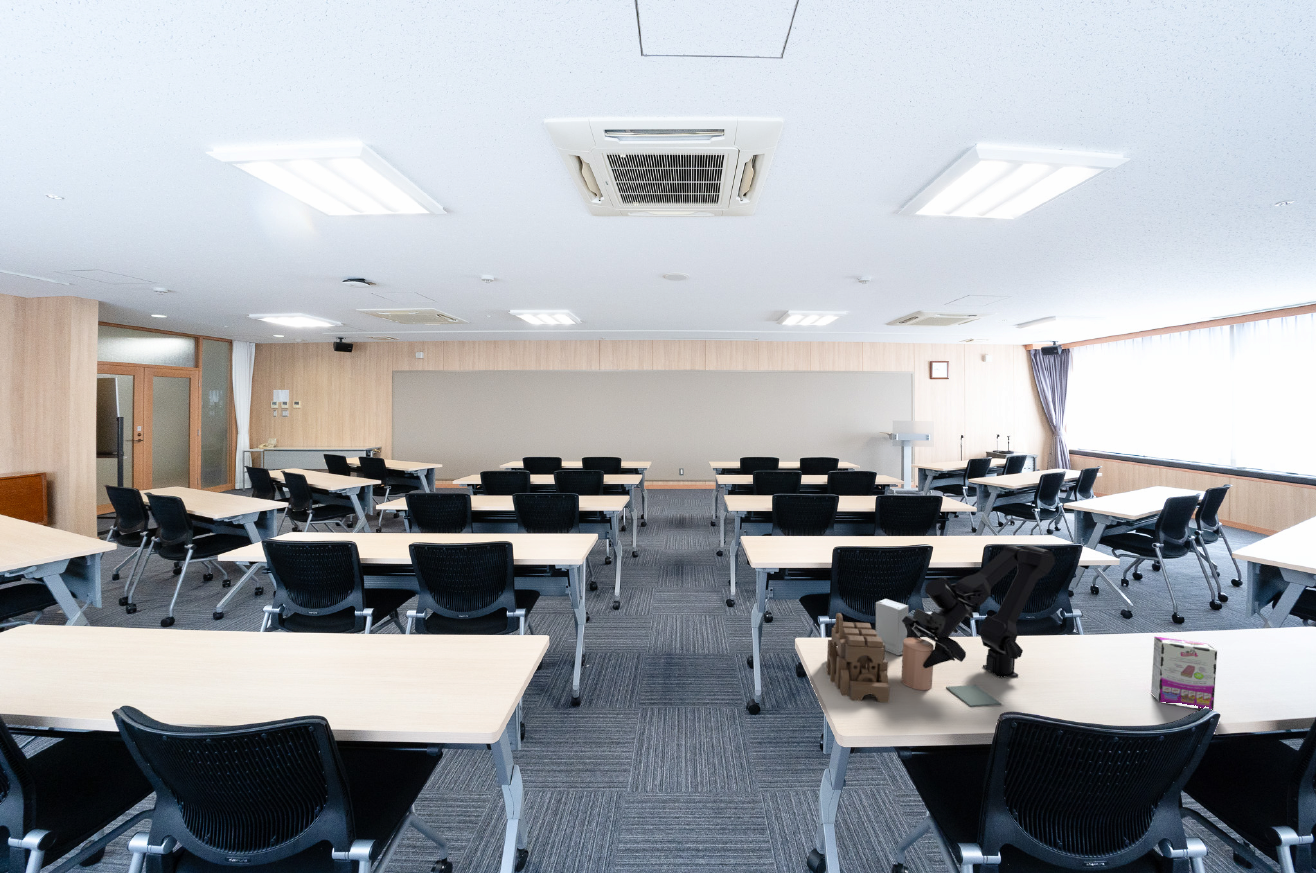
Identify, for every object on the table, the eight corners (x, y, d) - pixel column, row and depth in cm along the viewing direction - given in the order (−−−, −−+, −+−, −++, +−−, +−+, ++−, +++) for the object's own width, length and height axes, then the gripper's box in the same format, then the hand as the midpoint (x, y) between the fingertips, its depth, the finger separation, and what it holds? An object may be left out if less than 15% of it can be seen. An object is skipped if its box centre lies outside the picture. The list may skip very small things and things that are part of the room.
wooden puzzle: (897, 703, 136) (900, 633, 135) (839, 700, 137) (842, 630, 136) (869, 662, 158) (871, 601, 157) (819, 659, 159) (822, 599, 158)
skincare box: (908, 652, 165) (911, 605, 164) (897, 656, 162) (899, 609, 161) (884, 641, 172) (886, 597, 171) (873, 645, 168) (875, 600, 168)
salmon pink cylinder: (919, 675, 150) (922, 636, 150) (937, 689, 143) (939, 648, 142) (895, 676, 149) (897, 637, 149) (912, 690, 142) (914, 650, 141)
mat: (975, 686, 145) (975, 684, 145) (1001, 704, 136) (1001, 703, 136) (946, 688, 144) (946, 686, 144) (970, 706, 135) (970, 705, 135)
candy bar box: (1202, 702, 139) (1207, 642, 138) (1213, 712, 135) (1219, 650, 134) (1148, 693, 144) (1153, 635, 143) (1158, 702, 139) (1163, 642, 138)
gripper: (908, 588, 155) (874, 627, 153) (959, 612, 137) (921, 657, 135) (929, 612, 157) (896, 651, 155) (982, 639, 139) (945, 684, 137)
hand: (913, 660), depth 145 cm, fingers closed on salmon pink cylinder, 8 cm apart
